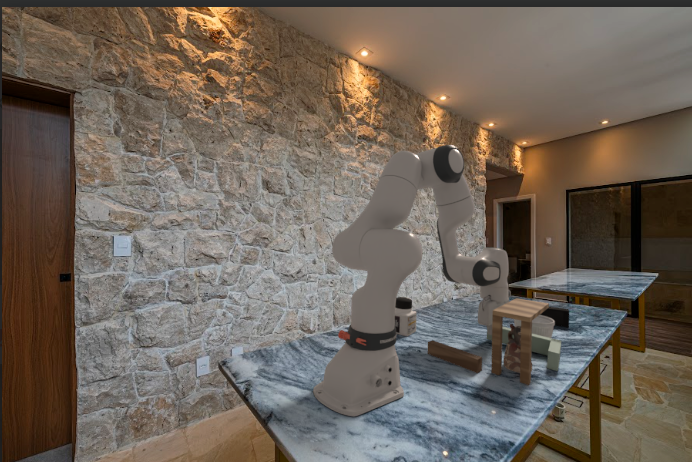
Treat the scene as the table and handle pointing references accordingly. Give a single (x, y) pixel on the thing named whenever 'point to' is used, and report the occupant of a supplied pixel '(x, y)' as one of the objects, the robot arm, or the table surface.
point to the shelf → (526, 314)
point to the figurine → (513, 350)
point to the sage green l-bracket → (539, 347)
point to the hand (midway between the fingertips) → (492, 332)
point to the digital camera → (558, 316)
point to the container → (404, 316)
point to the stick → (455, 356)
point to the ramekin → (540, 326)
